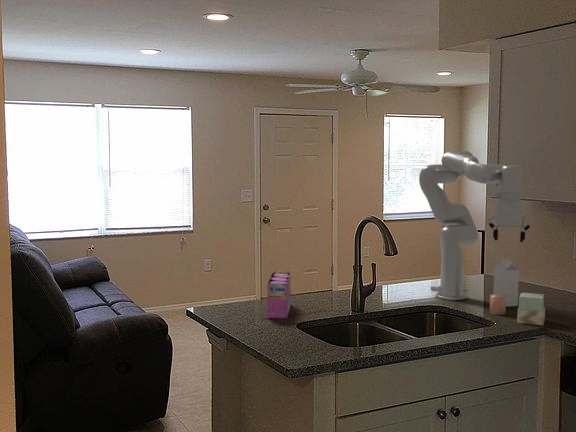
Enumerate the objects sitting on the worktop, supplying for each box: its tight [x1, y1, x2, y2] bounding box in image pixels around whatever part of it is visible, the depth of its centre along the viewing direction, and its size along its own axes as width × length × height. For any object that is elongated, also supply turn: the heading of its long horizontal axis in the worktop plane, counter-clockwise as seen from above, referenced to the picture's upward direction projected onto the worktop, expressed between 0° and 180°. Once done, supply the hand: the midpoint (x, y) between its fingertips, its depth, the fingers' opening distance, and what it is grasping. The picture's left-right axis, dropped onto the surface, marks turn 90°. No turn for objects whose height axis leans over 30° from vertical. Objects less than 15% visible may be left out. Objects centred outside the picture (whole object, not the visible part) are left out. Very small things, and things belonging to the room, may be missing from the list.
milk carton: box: [492, 257, 520, 308], centre depth 273 cm, size 7×7×19 cm
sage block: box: [518, 292, 545, 312], centre depth 246 cm, size 8×8×5 cm
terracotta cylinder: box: [489, 293, 507, 316], centre depth 259 cm, size 6×6×7 cm
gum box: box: [266, 271, 292, 319], centre depth 261 cm, size 24×8×14 cm, turn 176°
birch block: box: [516, 306, 546, 326], centre depth 246 cm, size 9×9×5 cm
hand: (508, 240), depth 258 cm, fingers open, 9 cm apart
